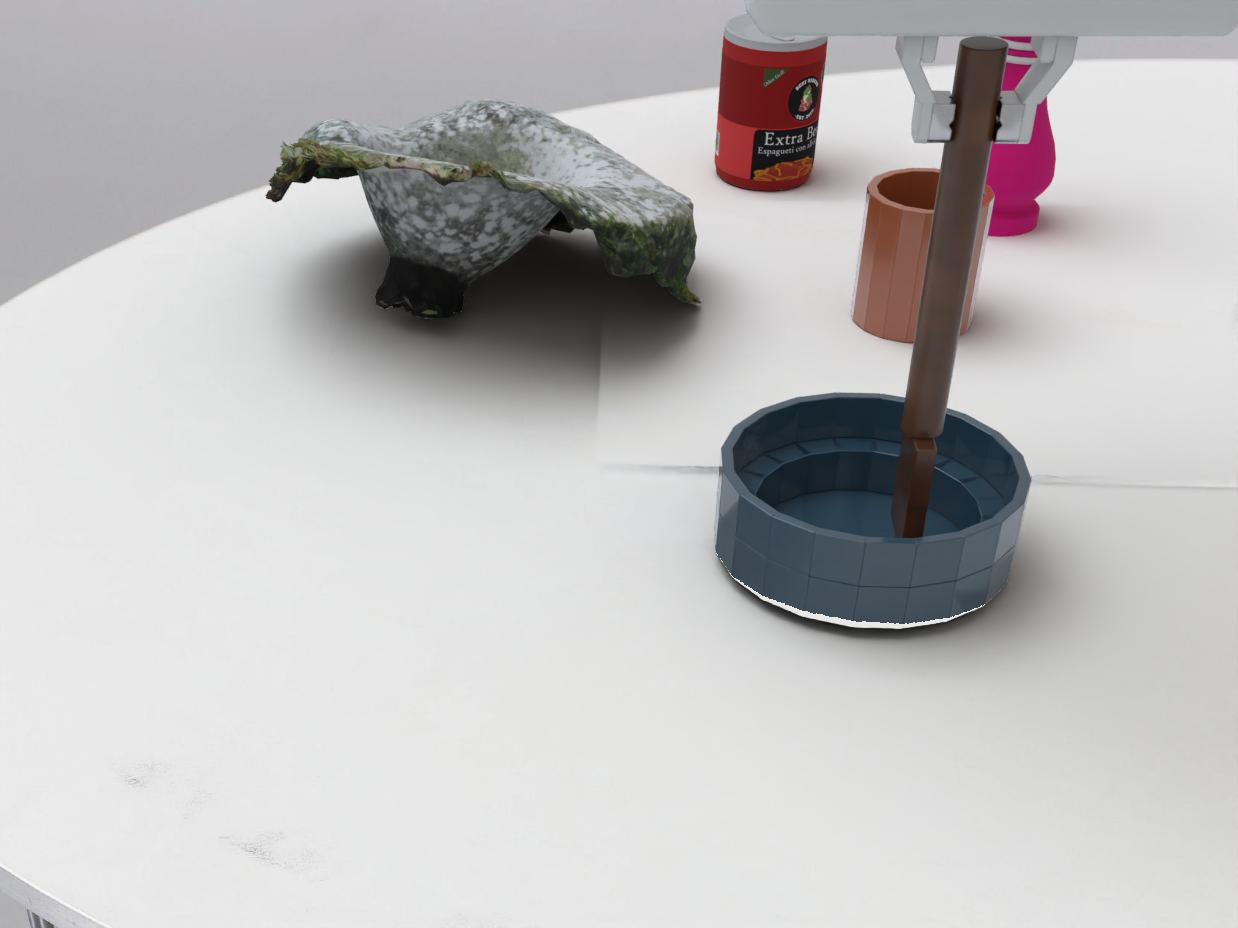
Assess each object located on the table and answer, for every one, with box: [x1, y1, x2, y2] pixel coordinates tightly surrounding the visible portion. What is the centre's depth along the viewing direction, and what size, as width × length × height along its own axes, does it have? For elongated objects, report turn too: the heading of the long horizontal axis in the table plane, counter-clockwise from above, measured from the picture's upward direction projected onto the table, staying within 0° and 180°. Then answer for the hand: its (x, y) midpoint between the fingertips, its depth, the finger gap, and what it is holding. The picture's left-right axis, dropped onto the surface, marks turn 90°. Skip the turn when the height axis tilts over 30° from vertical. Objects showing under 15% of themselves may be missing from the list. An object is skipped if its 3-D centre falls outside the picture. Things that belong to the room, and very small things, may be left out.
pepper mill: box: [985, 36, 1057, 238], centre depth 114 cm, size 7×7×20 cm
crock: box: [850, 167, 995, 344], centre depth 105 cm, size 8×8×9 cm
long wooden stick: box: [890, 36, 1009, 538], centre depth 76 cm, size 2×4×24 cm, turn 176°
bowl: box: [713, 391, 1032, 624], centre depth 85 cm, size 15×15×6 cm
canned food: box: [714, 13, 829, 192], centre depth 125 cm, size 8×8×11 cm
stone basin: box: [264, 98, 703, 320], centre depth 107 cm, size 29×30×15 cm
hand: (969, 139), depth 71 cm, fingers closed on long wooden stick, 2 cm apart
